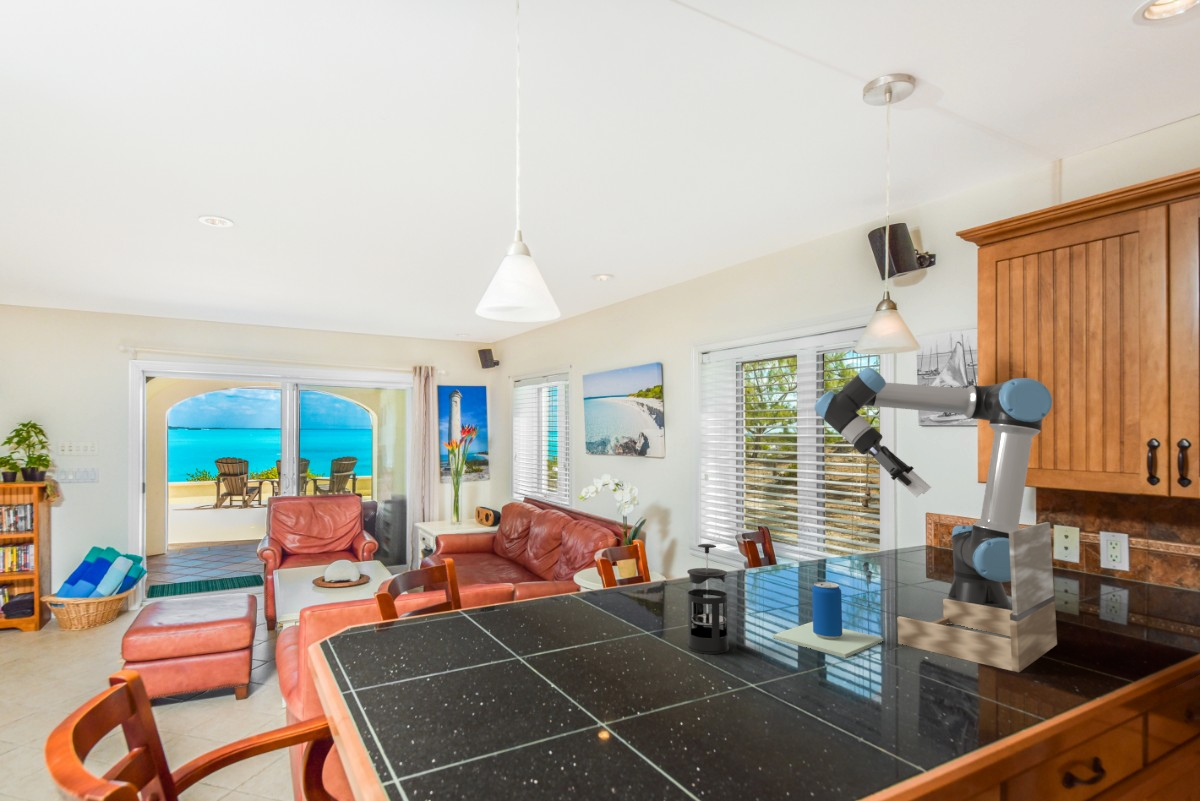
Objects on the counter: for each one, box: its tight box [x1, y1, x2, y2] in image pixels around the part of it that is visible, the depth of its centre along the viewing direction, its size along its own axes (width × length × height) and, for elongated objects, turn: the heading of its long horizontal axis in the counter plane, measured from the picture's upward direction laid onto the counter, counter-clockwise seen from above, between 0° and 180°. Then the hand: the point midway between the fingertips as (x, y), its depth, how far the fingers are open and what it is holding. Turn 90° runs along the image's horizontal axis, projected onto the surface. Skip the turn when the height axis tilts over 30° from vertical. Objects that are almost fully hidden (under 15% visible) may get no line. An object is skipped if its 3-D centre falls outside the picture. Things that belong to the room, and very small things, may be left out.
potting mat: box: [772, 621, 884, 659], centre depth 145 cm, size 18×18×1 cm
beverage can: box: [811, 581, 843, 639], centre depth 146 cm, size 6×6×12 cm
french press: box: [686, 543, 730, 655], centre depth 141 cm, size 12×9×23 cm
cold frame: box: [896, 521, 1058, 673], centre depth 144 cm, size 24×28×28 cm
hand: (924, 492), depth 163 cm, fingers open, 13 cm apart
